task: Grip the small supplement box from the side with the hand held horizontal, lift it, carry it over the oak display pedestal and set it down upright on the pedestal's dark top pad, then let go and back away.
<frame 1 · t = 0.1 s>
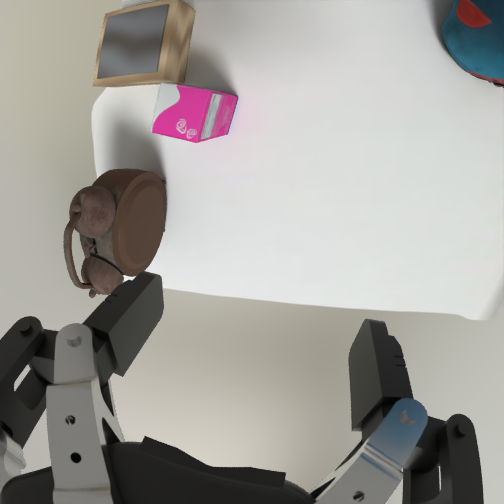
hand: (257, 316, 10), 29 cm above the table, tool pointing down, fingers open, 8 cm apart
alarm clock: (153, 203, 42), on the table
supplement box: (214, 111, 34), on the table
mask: (479, 39, 19), on the table
pedestal: (153, 48, 30), on the table
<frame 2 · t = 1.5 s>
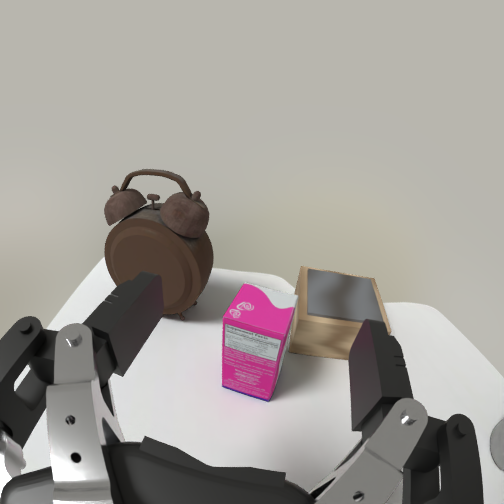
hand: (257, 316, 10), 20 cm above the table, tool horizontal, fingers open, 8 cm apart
alarm clock: (163, 305, 40), on the table
supplement box: (251, 378, 30), on the table
pedestal: (331, 327, 39), on the table
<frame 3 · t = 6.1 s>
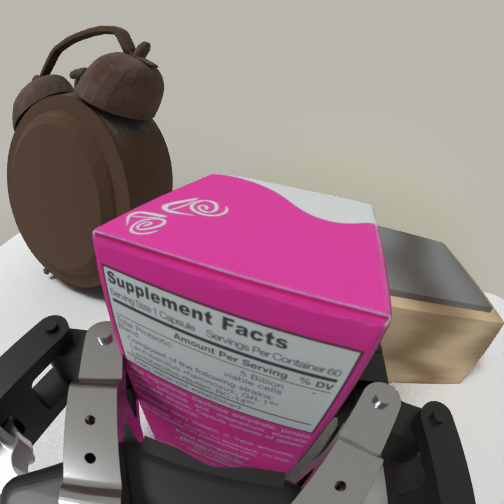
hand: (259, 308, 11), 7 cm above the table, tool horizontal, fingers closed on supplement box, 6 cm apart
alarm clock: (93, 277, 21), on the table
supplement box: (233, 432, 12), on the table, touching gripper
pedestal: (385, 325, 20), on the table
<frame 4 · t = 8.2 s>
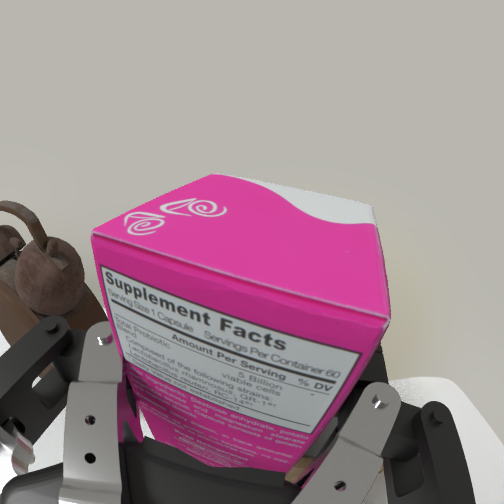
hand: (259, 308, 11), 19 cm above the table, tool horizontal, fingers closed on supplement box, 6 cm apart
alarm clock: (71, 375, 24), on the table
supplement box: (232, 432, 12), point 12 cm above the table, touching gripper
pedestal: (297, 432, 23), on the table
when the fingers open (14 cm above the table, at t = 10.4 s): supplement box stays where it is, resting on pedestal.
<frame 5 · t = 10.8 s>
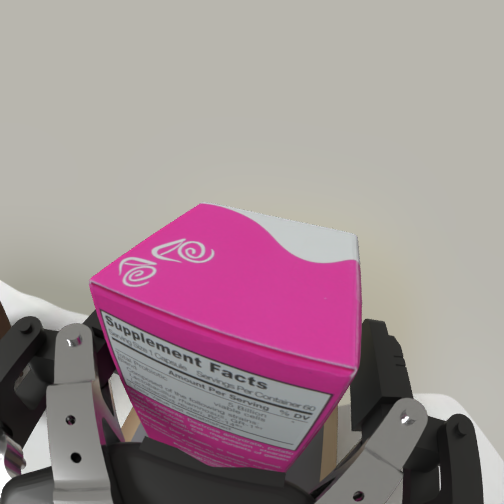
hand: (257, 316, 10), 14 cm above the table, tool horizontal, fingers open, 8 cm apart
supplement box: (228, 440, 12), point 6 cm above the table, touching pedestal
pedestal: (226, 467, 15), on the table
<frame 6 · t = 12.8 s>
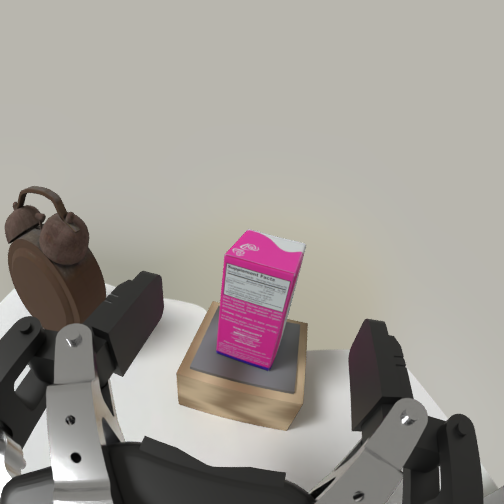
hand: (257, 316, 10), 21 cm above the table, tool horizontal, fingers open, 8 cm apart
alarm clock: (68, 328, 32), on the table
supplement box: (249, 346, 28), point 6 cm above the table, touching pedestal
pedestal: (243, 379, 31), on the table
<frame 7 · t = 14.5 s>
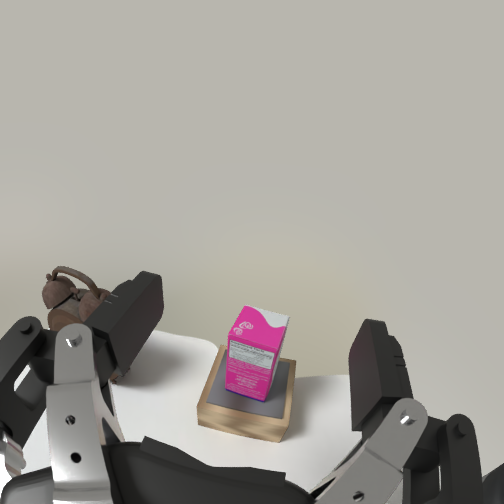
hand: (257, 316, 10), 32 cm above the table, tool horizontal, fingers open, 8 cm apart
alarm clock: (103, 366, 40), on the table
supplement box: (249, 382, 36), point 6 cm above the table, touching pedestal
pedestal: (246, 403, 39), on the table
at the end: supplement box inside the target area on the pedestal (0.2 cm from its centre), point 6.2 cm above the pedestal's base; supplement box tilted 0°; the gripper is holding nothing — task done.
